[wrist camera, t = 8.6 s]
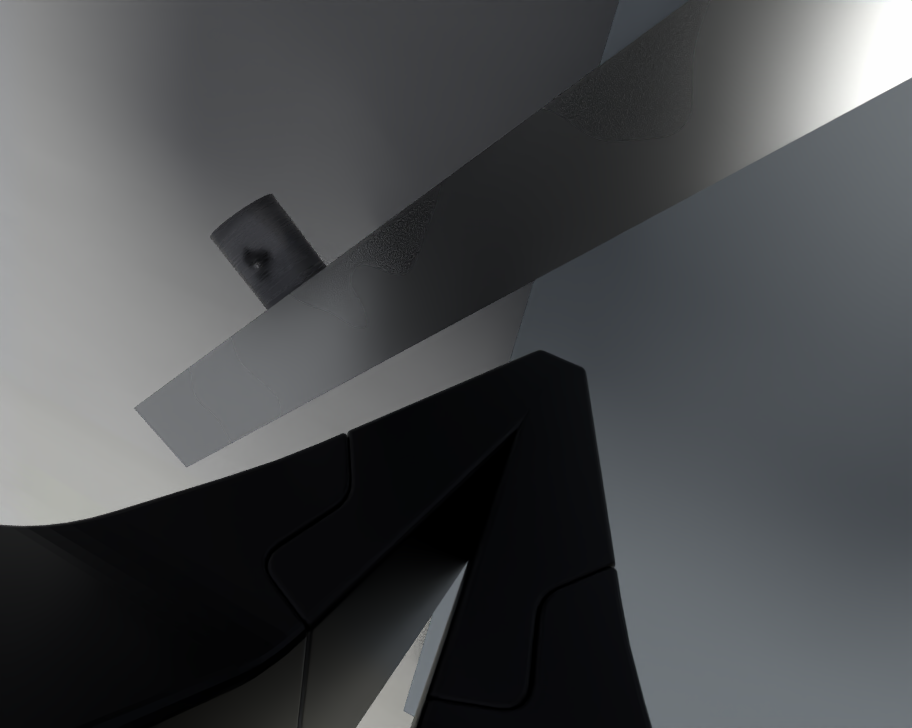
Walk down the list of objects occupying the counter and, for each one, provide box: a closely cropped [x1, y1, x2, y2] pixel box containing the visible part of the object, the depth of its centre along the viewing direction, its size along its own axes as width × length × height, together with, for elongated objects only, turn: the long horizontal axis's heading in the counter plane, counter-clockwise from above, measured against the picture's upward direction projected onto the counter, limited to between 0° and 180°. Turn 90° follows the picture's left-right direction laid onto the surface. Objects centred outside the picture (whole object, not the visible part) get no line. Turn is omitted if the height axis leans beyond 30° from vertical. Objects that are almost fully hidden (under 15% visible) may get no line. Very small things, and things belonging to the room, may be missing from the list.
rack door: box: [134, 0, 912, 467], centre depth 7 cm, size 10×2×4 cm, turn 129°
